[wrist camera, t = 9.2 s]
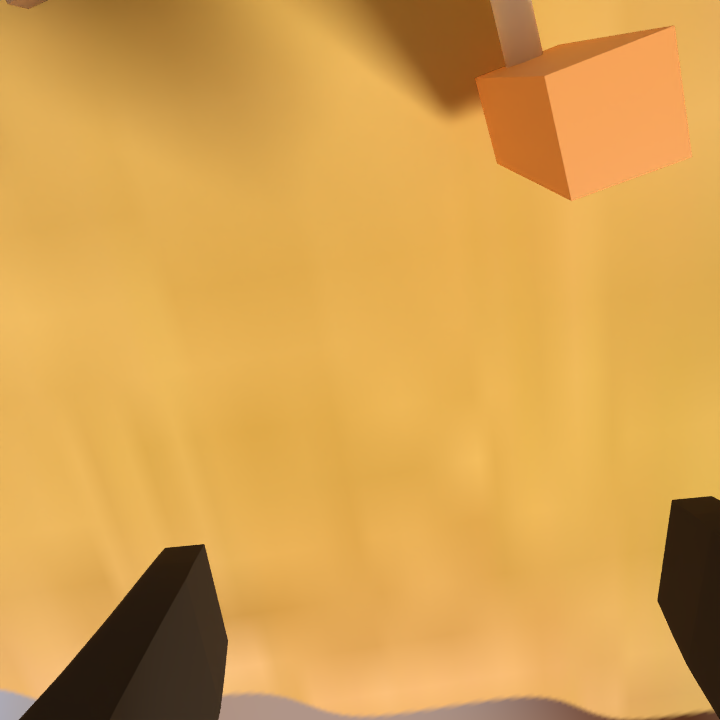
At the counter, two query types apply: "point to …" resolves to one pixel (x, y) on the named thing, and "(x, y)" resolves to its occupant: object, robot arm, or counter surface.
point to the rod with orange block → (583, 105)
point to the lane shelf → (25, 3)
